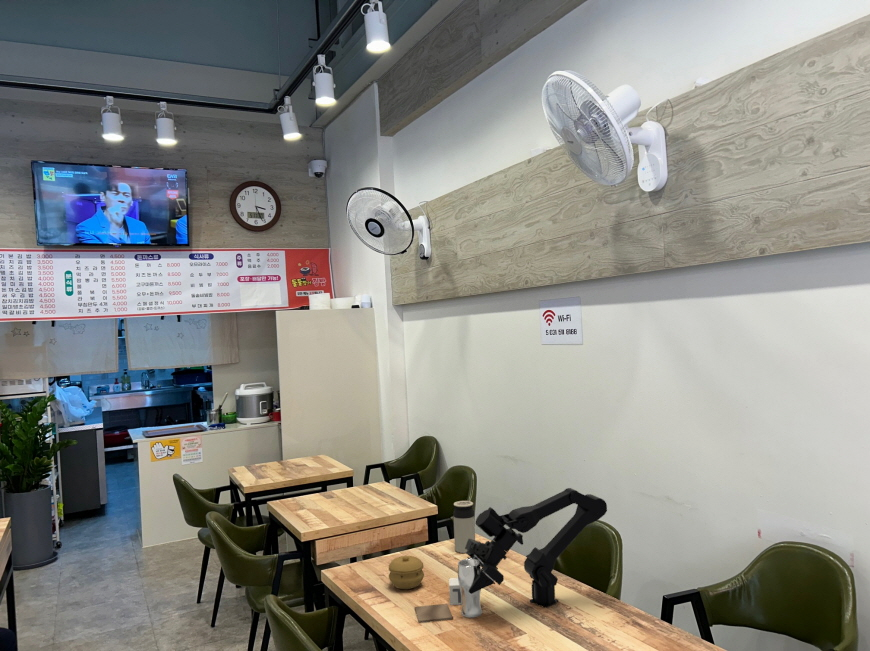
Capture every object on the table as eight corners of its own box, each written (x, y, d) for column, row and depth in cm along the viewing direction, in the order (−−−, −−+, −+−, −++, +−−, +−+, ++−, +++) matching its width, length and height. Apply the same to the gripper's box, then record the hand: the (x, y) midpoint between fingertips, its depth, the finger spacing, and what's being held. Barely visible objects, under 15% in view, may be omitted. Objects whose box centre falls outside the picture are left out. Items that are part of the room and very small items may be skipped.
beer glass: (484, 618, 187) (481, 566, 188) (460, 619, 188) (457, 567, 188) (482, 607, 194) (480, 557, 195) (459, 608, 195) (457, 558, 195)
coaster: (447, 605, 198) (447, 603, 198) (453, 619, 188) (453, 617, 188) (414, 608, 196) (414, 606, 196) (418, 622, 186) (418, 620, 186)
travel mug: (479, 550, 247) (477, 503, 247) (462, 555, 243) (460, 507, 243) (468, 545, 254) (466, 499, 254) (451, 549, 250) (449, 502, 250)
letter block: (469, 605, 197) (468, 585, 198) (449, 605, 198) (449, 585, 198) (469, 596, 204) (468, 577, 204) (450, 597, 204) (449, 578, 204)
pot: (384, 592, 210) (383, 561, 210) (395, 578, 222) (394, 549, 222) (419, 594, 207) (418, 562, 208) (428, 580, 219) (427, 550, 219)
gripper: (471, 521, 202) (438, 561, 199) (491, 538, 184) (455, 582, 180) (496, 543, 203) (464, 583, 200) (518, 562, 185) (483, 607, 182)
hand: (466, 588), depth 191 cm, fingers closed on beer glass, 7 cm apart
